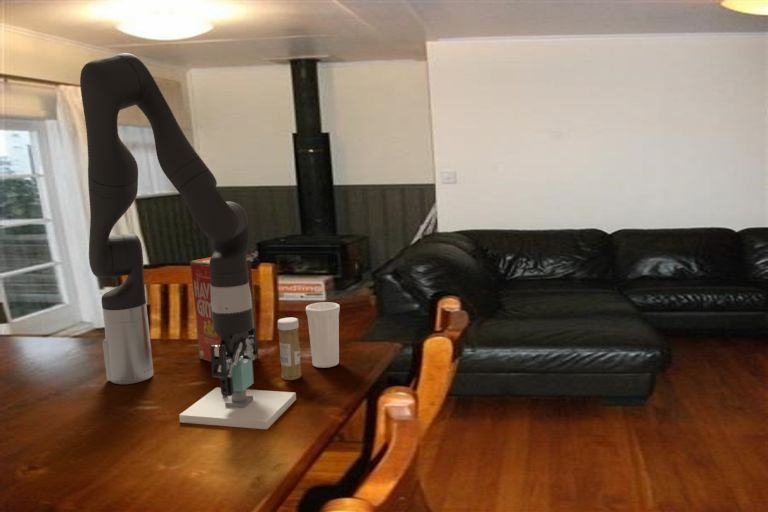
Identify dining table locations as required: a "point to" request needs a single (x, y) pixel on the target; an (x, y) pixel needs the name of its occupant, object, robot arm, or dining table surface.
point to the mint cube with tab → (242, 374)
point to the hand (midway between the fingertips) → (238, 386)
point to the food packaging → (209, 306)
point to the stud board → (239, 408)
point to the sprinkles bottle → (289, 348)
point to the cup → (324, 333)
